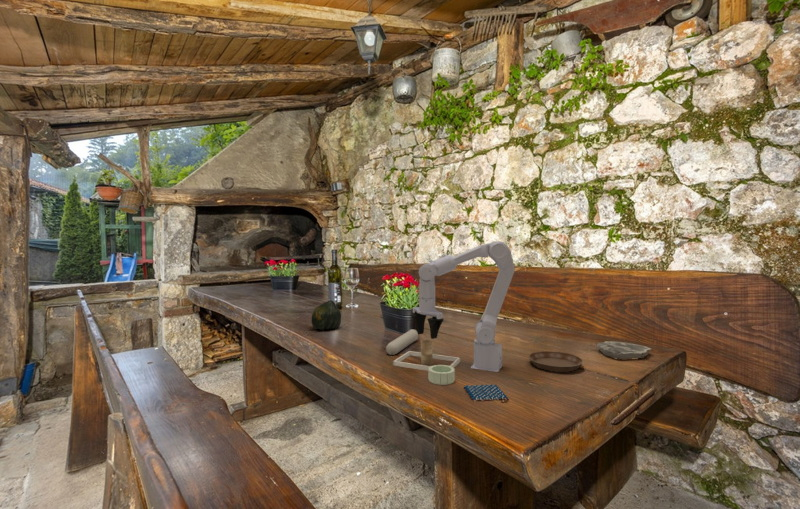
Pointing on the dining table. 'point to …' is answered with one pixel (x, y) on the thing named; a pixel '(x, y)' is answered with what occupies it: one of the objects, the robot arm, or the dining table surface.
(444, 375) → the pale green short ring
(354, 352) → the dining table surface
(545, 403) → the dining table surface
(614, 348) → the grey stone slab
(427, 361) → the dowel pin
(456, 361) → the beige rectangular frame
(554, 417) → the dining table surface
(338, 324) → the squash
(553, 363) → the plant saucer
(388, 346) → the tube
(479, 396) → the woven mat
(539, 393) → the dining table surface
